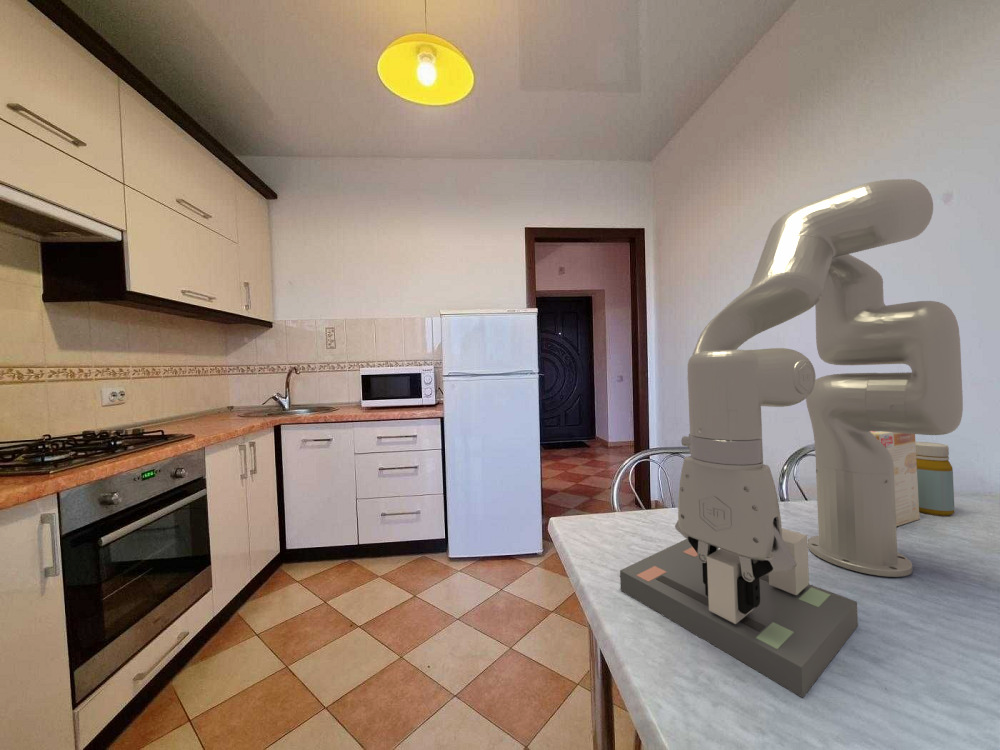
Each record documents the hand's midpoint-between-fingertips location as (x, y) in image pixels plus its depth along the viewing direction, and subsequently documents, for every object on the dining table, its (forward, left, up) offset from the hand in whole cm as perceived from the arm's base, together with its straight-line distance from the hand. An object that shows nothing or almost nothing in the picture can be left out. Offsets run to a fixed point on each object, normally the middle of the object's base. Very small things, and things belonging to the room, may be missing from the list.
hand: (730, 599), depth 43 cm
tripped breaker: (0, 0, -1) cm, 1 cm away
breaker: (-12, +2, -1) cm, 12 cm away
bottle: (-77, +6, -5) cm, 77 cm away
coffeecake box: (-62, +1, -5) cm, 62 cm away
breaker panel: (-6, -3, -5) cm, 8 cm away
